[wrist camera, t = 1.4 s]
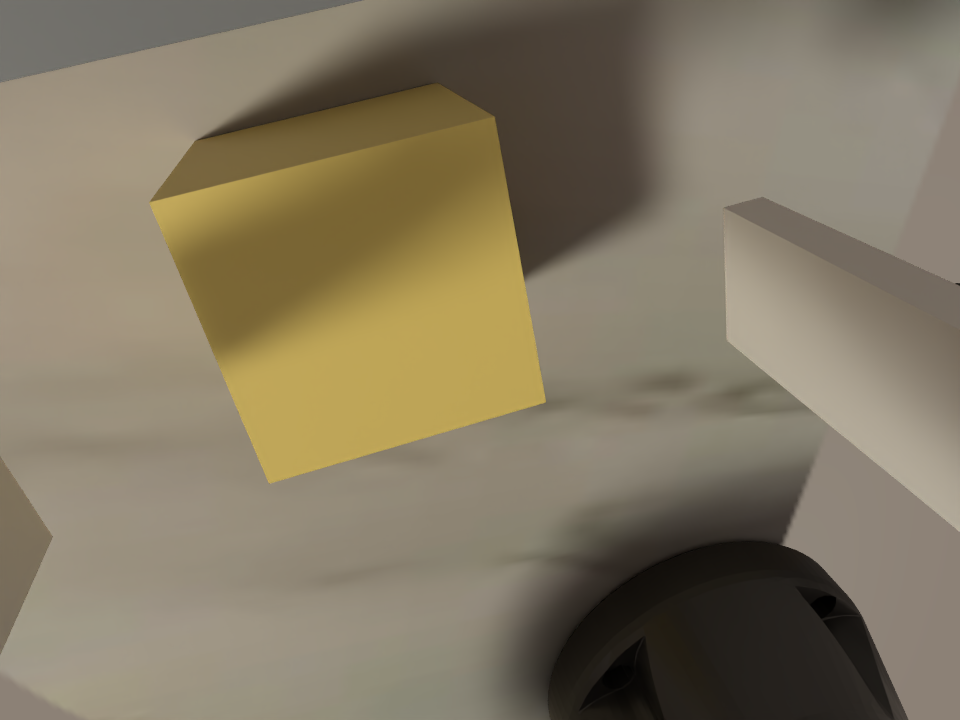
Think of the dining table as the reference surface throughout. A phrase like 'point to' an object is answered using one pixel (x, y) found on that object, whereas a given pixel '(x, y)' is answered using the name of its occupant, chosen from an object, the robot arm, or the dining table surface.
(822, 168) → the dining table surface
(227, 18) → the board
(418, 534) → the dining table surface
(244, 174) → the mustard yellow cube
